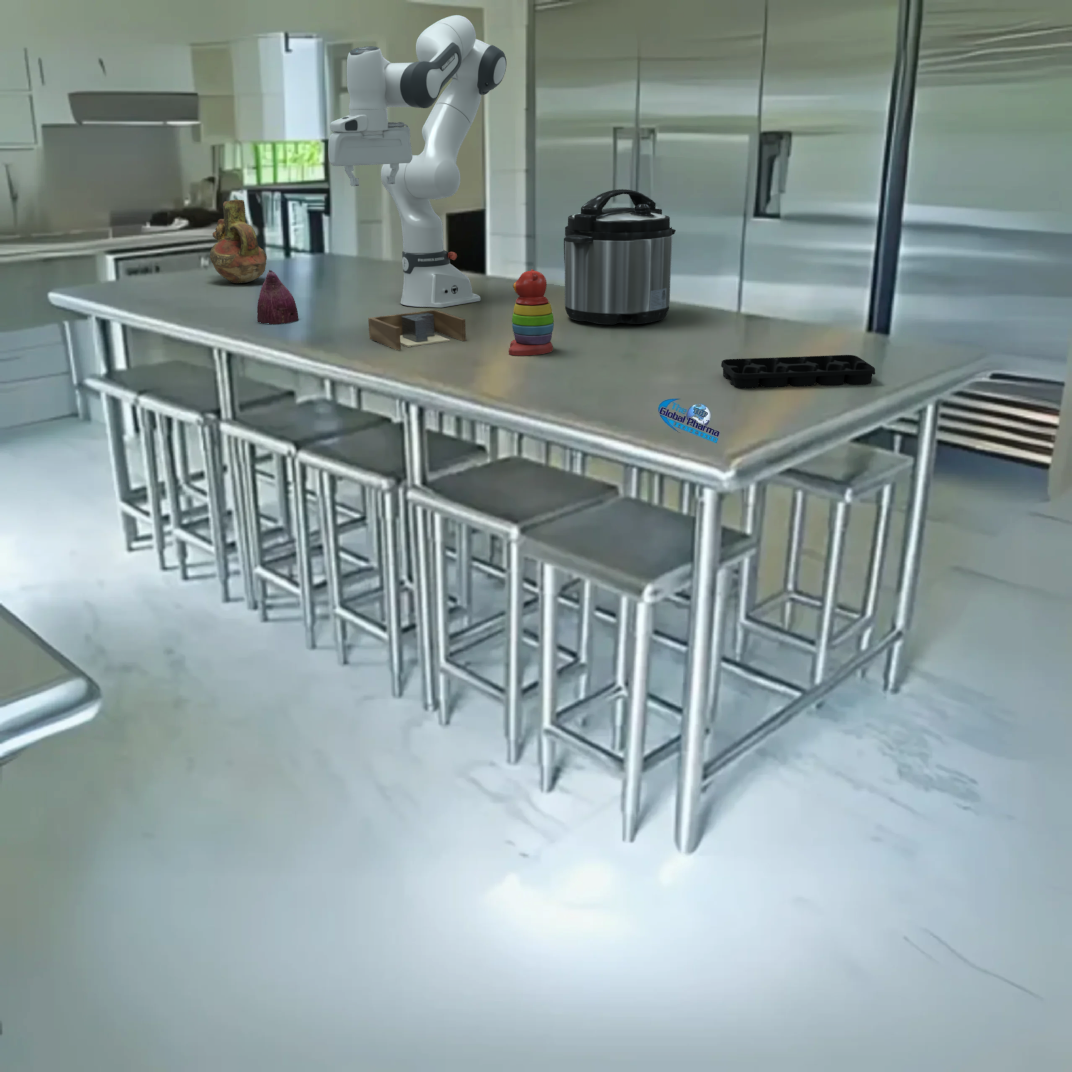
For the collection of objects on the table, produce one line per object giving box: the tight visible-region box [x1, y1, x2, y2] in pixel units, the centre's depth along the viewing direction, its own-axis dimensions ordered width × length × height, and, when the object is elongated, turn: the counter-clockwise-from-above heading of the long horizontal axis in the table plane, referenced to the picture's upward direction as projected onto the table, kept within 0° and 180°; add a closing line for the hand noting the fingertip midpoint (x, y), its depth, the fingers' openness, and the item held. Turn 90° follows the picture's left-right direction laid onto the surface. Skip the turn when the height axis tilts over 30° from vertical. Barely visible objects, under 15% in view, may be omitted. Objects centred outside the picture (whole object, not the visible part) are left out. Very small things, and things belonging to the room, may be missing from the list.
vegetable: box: [256, 269, 299, 325], centre depth 275 cm, size 10×10×15 cm
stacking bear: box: [508, 269, 555, 357], centre depth 239 cm, size 11×10×18 cm
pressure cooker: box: [563, 188, 676, 325], centre depth 271 cm, size 30×28×32 cm
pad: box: [400, 333, 451, 348], centre depth 254 cm, size 11×11×1 cm
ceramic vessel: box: [209, 199, 268, 284], centre depth 333 cm, size 17×26×25 cm, turn 43°
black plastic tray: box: [720, 354, 876, 390], centre depth 215 cm, size 18×30×4 cm, turn 107°
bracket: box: [401, 313, 435, 342], centre depth 254 cm, size 7×7×5 cm
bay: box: [367, 309, 467, 351], centre depth 254 cm, size 18×15×5 cm
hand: (373, 185), depth 255 cm, fingers open, 8 cm apart
